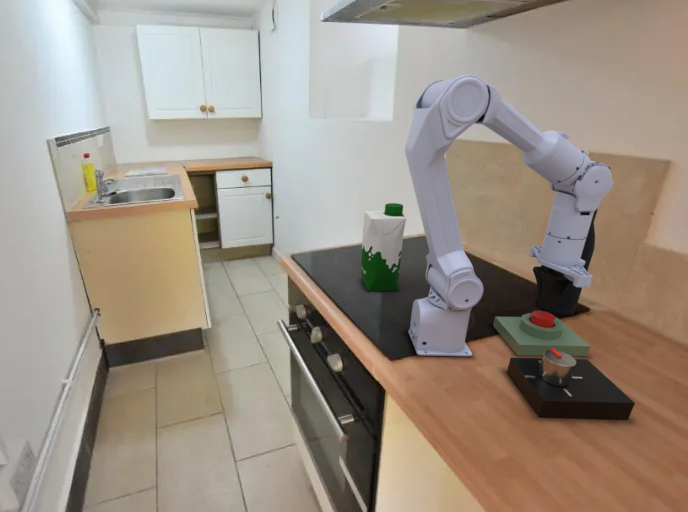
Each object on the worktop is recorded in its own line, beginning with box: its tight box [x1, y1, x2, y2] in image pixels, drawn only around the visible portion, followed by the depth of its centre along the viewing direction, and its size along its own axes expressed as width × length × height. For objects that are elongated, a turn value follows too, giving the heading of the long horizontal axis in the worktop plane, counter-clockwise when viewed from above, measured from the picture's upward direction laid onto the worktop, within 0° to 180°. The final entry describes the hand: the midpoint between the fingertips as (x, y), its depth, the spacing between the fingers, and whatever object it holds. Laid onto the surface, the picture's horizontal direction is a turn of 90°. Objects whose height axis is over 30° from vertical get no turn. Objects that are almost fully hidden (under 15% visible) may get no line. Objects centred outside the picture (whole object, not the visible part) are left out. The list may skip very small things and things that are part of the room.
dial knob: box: [538, 348, 576, 386], centre depth 55 cm, size 4×4×4 cm
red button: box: [530, 310, 556, 328], centre depth 69 cm, size 4×4×2 cm
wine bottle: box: [543, 166, 611, 316], centre depth 77 cm, size 6×6×30 cm
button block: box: [492, 312, 591, 358], centre depth 70 cm, size 12×10×4 cm
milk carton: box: [360, 202, 407, 292], centre depth 90 cm, size 9×9×20 cm
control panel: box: [506, 357, 636, 421], centre depth 56 cm, size 12×10×3 cm
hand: (545, 307), depth 68 cm, fingers closed
